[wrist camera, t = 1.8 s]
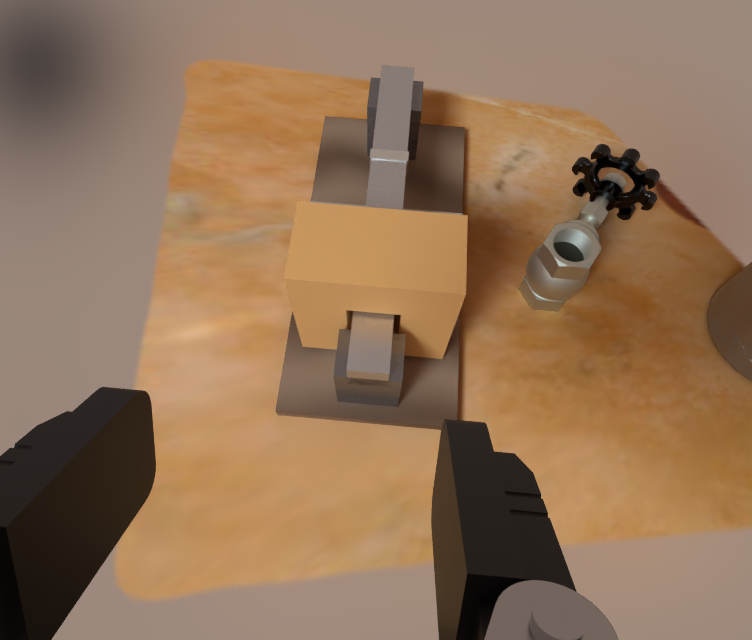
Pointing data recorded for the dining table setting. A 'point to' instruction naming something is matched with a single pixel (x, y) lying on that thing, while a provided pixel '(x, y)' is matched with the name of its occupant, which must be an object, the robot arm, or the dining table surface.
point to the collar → (377, 272)
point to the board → (422, 193)
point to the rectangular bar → (385, 190)
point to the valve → (584, 228)
